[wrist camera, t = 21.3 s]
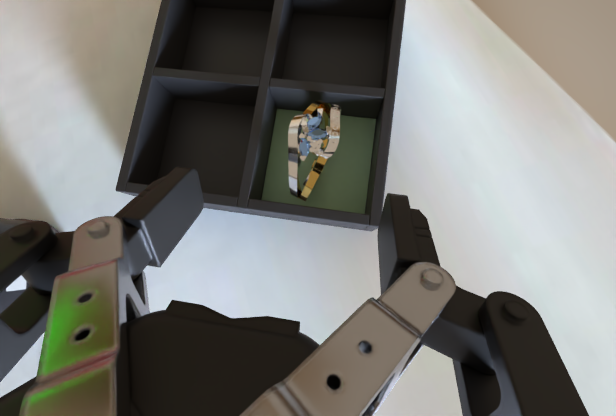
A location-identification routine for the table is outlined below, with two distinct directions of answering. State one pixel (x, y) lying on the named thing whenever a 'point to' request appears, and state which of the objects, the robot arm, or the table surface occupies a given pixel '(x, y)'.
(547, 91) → the table surface
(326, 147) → the ring
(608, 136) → the table surface
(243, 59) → the organizer
